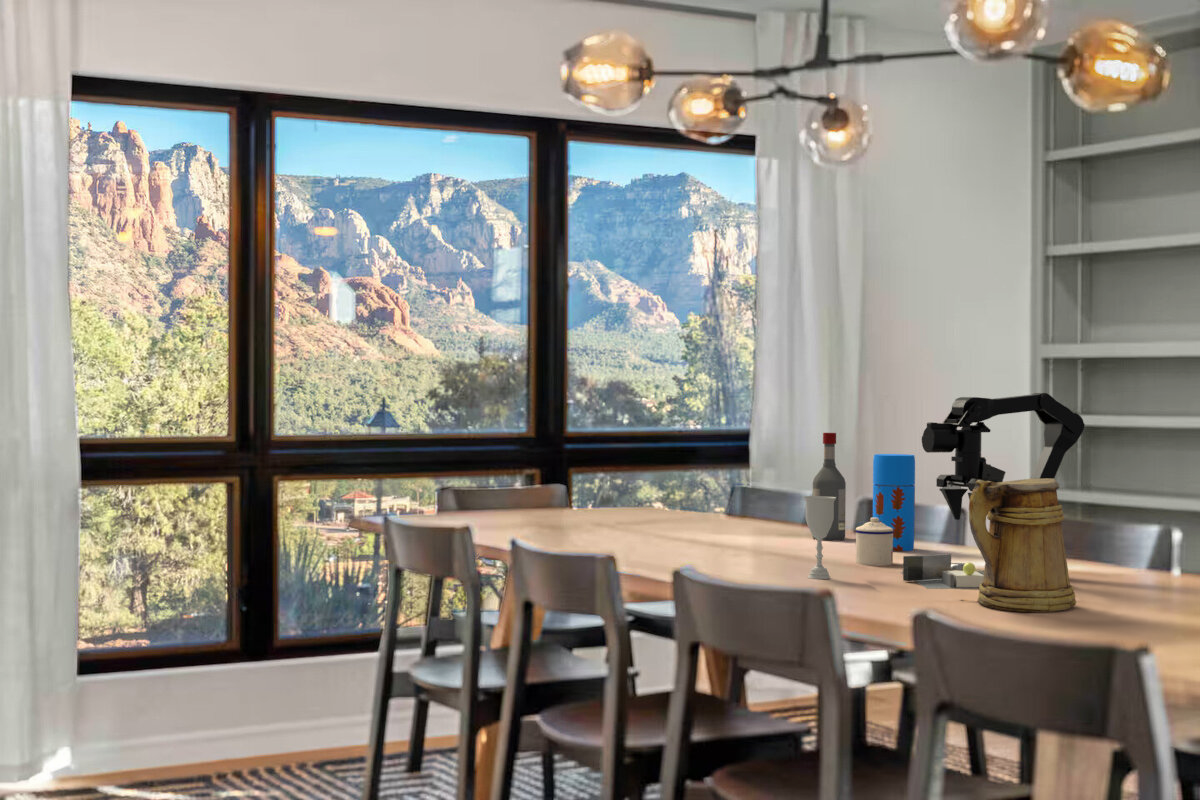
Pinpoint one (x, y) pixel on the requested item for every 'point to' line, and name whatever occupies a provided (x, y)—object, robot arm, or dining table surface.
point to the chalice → (819, 528)
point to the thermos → (895, 496)
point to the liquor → (832, 487)
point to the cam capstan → (929, 566)
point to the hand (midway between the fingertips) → (967, 521)
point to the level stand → (943, 582)
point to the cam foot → (967, 576)
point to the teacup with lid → (874, 544)
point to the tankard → (1021, 545)
